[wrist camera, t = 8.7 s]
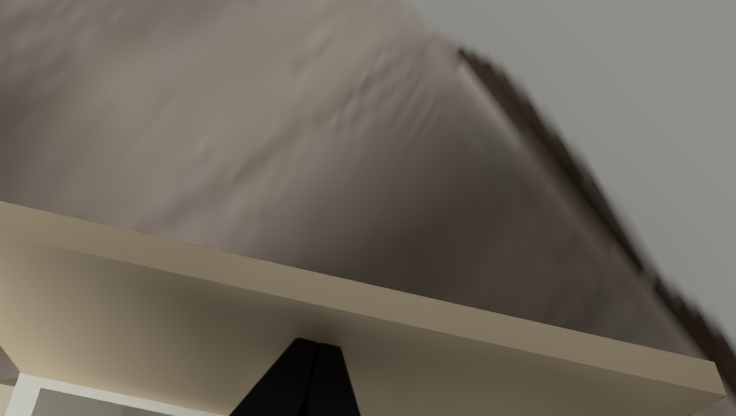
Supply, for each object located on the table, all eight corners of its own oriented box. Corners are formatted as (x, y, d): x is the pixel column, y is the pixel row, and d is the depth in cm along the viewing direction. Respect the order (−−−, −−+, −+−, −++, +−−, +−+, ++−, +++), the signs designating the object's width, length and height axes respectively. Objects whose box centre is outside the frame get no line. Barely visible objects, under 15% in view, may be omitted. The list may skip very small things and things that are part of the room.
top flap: (726, 395, 8) (714, 361, 9) (-105, 210, 8) (-76, 183, 8) (557, 485, 13) (555, 460, 13) (22, 373, 12) (36, 350, 12)
